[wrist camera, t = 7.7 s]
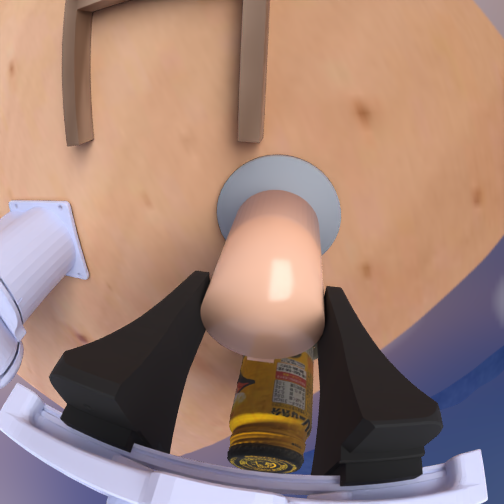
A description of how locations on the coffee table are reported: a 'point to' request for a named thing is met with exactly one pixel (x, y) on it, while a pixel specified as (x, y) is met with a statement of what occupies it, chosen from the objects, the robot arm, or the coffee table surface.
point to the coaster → (287, 179)
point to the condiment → (272, 413)
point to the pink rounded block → (268, 280)
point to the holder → (78, 69)
